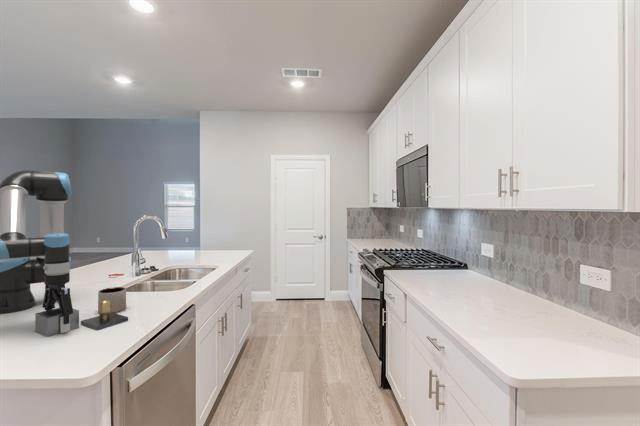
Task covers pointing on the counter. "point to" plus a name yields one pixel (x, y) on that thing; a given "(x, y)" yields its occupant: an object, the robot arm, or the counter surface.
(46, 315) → the collar
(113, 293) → the planter
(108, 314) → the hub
